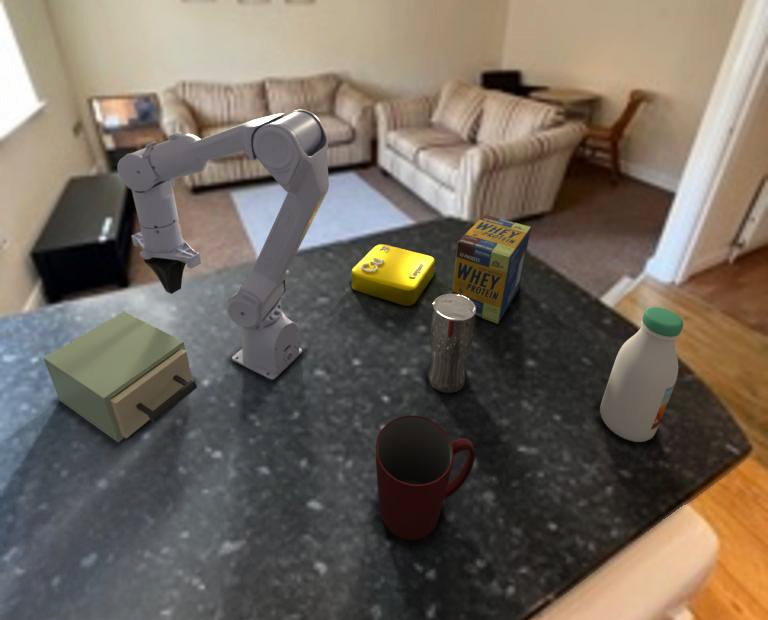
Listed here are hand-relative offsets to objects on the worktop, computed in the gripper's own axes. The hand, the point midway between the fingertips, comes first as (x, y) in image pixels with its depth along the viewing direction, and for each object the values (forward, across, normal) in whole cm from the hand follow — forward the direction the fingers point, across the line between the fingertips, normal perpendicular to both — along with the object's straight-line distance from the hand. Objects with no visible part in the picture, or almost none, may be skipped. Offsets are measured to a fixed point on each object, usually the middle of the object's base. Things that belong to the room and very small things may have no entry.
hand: (173, 290), depth 78 cm
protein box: (+11, +45, +41) cm, 62 cm away
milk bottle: (+11, +73, +21) cm, 77 cm away
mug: (+11, +51, -6) cm, 52 cm away
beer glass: (+11, +46, +15) cm, 50 cm away
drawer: (+9, +7, -13) cm, 17 cm away
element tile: (+11, +25, +36) cm, 45 cm away
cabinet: (+10, +3, -13) cm, 17 cm away
